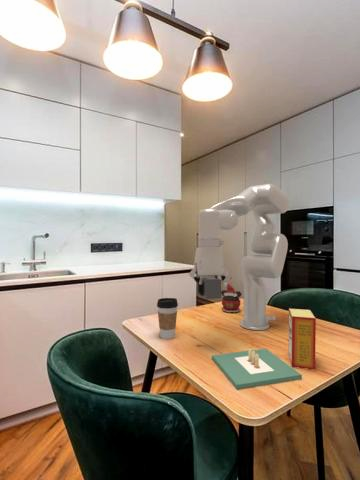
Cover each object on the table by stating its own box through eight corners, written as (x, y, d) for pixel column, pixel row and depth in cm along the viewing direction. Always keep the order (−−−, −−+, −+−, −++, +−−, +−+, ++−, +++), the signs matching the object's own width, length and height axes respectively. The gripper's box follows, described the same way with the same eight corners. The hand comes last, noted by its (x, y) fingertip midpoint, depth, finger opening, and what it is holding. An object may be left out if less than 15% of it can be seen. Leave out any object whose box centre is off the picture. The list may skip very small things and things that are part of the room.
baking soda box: (288, 353, 92) (288, 307, 92) (309, 356, 90) (309, 308, 90) (291, 367, 83) (292, 315, 83) (315, 370, 81) (315, 317, 81)
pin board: (266, 351, 94) (266, 337, 93) (301, 378, 76) (301, 360, 76) (211, 358, 89) (211, 343, 88) (236, 389, 71) (236, 369, 71)
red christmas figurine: (242, 309, 146) (242, 276, 146) (239, 314, 137) (239, 279, 137) (223, 307, 150) (223, 275, 149) (219, 312, 141) (219, 278, 141)
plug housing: (212, 293, 102) (212, 275, 101) (221, 298, 93) (221, 279, 93) (198, 293, 100) (198, 276, 100) (206, 299, 92) (206, 279, 92)
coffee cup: (170, 342, 102) (170, 302, 102) (152, 337, 107) (152, 299, 107) (181, 334, 110) (181, 298, 109) (164, 331, 114) (164, 295, 114)
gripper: (227, 243, 102) (227, 291, 102) (183, 243, 98) (183, 293, 98) (236, 244, 95) (236, 295, 95) (189, 244, 91) (189, 298, 91)
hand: (209, 294), depth 97 cm, fingers closed on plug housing, 5 cm apart
